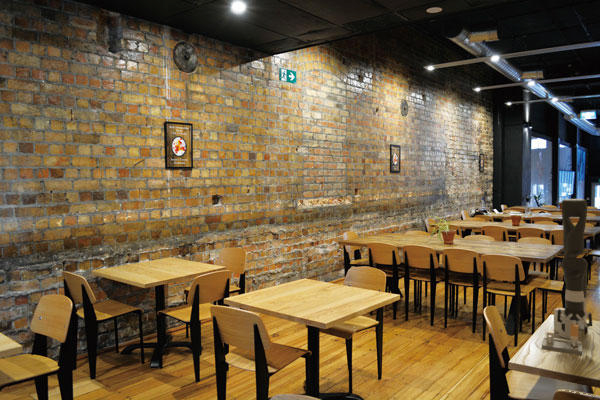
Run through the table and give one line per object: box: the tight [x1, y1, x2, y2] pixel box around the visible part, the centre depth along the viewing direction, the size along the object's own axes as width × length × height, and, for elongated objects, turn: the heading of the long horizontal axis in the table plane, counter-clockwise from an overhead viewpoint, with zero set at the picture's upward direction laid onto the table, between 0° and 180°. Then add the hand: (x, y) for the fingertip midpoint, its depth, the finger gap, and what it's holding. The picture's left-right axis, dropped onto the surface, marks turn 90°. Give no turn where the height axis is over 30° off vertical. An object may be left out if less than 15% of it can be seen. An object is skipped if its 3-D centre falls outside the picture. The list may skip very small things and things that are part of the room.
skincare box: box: [553, 307, 565, 333], centre depth 236 cm, size 6×4×12 cm
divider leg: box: [570, 324, 579, 348], centre depth 210 cm, size 3×8×9 cm, turn 147°
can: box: [558, 313, 576, 340], centre depth 227 cm, size 8×8×12 cm
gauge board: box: [541, 329, 583, 356], centre depth 213 cm, size 16×12×6 cm
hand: (574, 332), depth 212 cm, fingers open, 8 cm apart
